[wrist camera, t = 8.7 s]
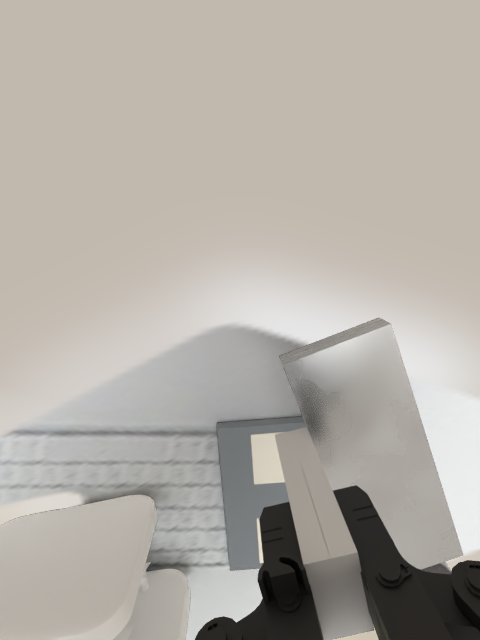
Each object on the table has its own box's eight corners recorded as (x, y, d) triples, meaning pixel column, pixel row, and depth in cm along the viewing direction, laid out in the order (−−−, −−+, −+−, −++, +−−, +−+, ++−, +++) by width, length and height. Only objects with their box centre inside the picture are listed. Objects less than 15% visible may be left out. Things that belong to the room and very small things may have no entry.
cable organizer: (168, 481, 31) (130, 621, 19) (195, 578, 33) (176, 754, 22) (2, 513, 31) (-130, 669, 20) (40, 606, 33) (-59, 794, 22)
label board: (230, 560, 33) (228, 739, 21) (217, 422, 30) (207, 541, 18) (359, 550, 33) (430, 723, 21) (359, 412, 30) (443, 523, 18)
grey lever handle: (278, 356, 15) (282, 365, 14) (378, 317, 15) (391, 323, 14) (382, 618, 19) (392, 643, 18) (466, 590, 18) (481, 614, 17)
